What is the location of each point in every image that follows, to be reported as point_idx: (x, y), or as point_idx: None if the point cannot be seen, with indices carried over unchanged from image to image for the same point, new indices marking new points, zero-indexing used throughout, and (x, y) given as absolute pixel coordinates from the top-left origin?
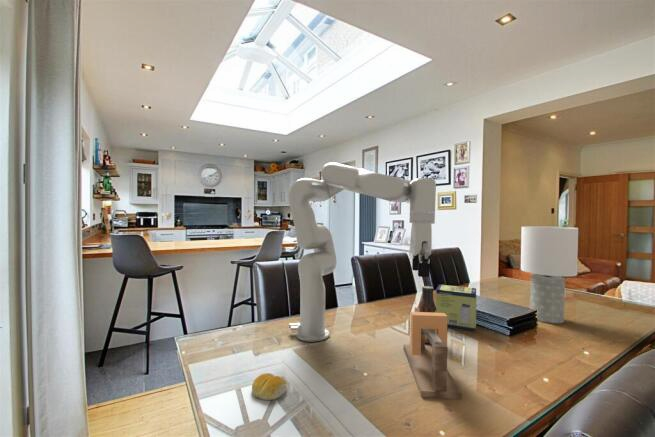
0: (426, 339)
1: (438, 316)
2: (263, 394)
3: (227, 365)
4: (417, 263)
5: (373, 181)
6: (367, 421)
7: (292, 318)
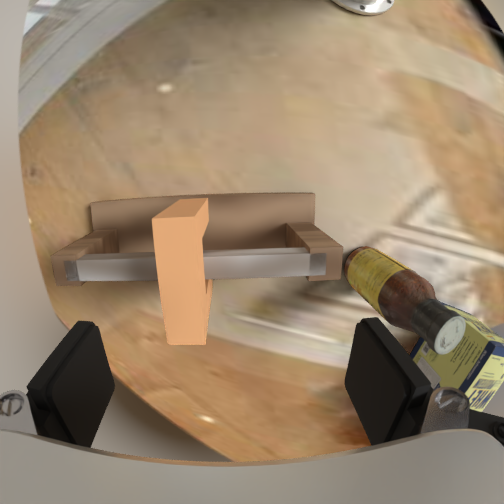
0: (349, 263)
1: (164, 316)
2: None
3: None
4: (373, 391)
5: None
6: (32, 112)
7: None
